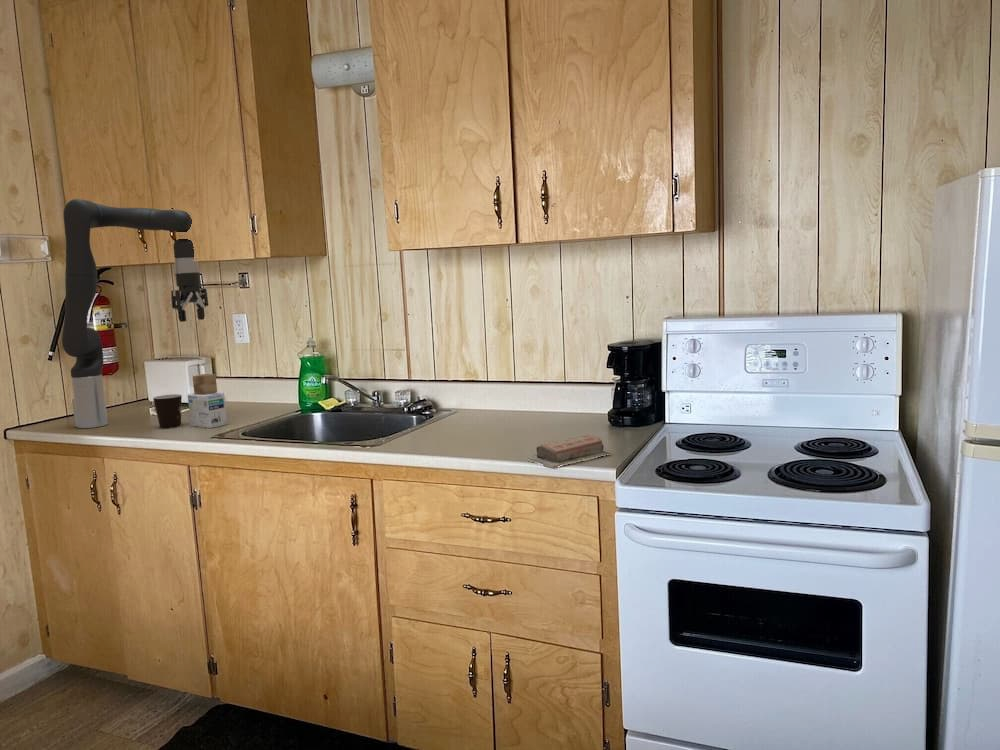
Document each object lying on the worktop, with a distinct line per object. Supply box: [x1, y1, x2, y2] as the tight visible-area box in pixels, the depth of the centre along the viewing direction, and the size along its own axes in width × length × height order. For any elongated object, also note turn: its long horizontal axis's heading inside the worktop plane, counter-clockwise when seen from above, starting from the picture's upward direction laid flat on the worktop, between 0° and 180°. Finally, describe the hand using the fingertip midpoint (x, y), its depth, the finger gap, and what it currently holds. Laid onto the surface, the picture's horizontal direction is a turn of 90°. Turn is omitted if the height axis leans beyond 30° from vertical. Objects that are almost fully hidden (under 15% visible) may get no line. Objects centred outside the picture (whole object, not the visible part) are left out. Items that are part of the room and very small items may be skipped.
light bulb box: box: [187, 392, 228, 429], centre depth 251 cm, size 11×7×11 cm, turn 58°
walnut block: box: [192, 373, 218, 395], centre depth 250 cm, size 5×5×6 cm
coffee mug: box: [152, 393, 183, 429], centre depth 253 cm, size 12×9×10 cm
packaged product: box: [527, 435, 611, 470], centre depth 186 cm, size 18×5×10 cm
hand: (192, 320), depth 256 cm, fingers open, 8 cm apart
